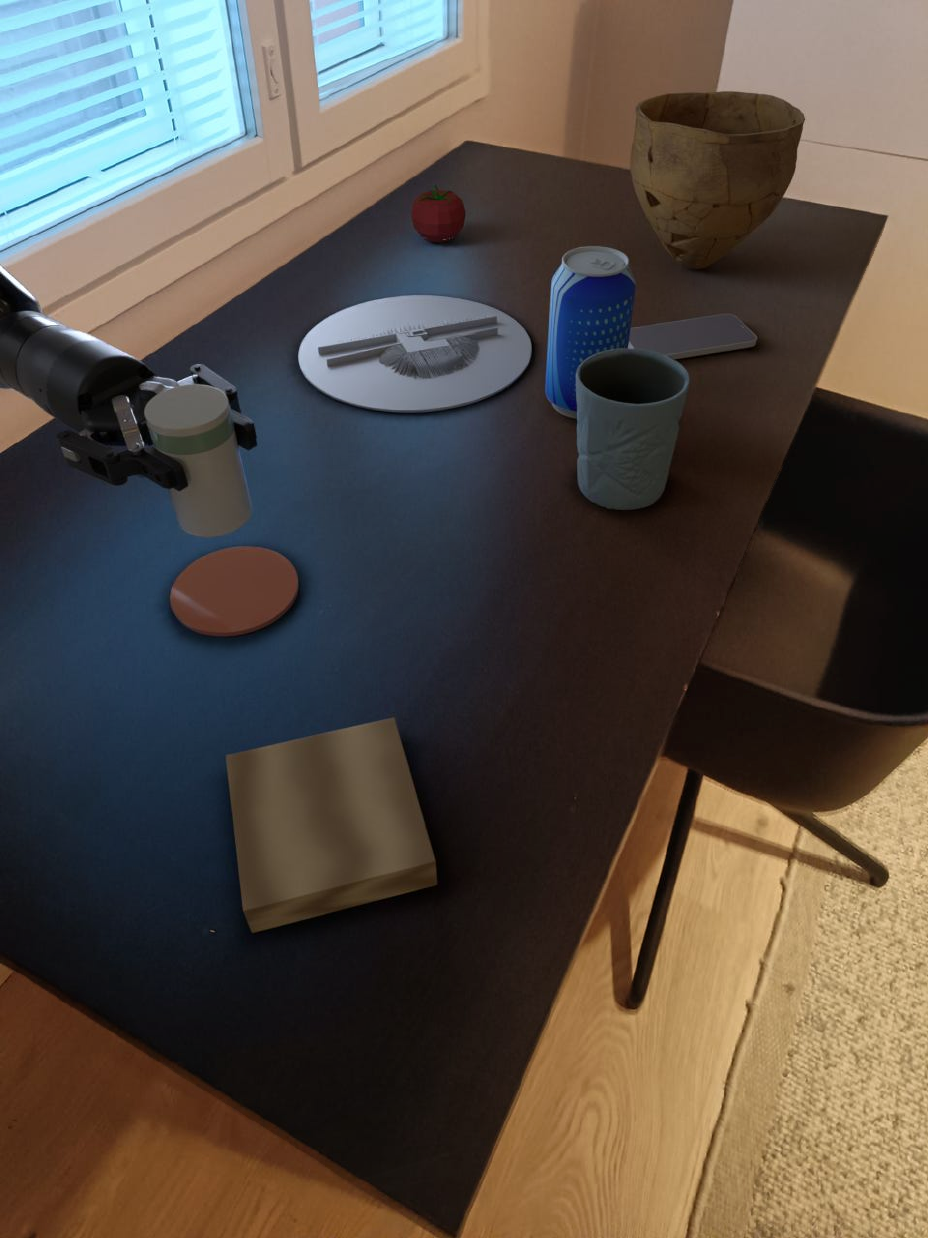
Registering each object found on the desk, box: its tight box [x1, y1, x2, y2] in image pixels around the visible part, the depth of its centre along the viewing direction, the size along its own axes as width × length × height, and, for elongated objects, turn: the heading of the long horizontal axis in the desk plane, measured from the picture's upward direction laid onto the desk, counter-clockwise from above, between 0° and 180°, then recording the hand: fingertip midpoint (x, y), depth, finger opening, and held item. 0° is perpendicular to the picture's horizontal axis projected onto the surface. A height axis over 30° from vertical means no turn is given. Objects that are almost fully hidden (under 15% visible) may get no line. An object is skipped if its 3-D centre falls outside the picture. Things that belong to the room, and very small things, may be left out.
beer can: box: [544, 245, 637, 420], centre depth 93 cm, size 8×8×16 cm
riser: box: [225, 717, 438, 934], centre depth 60 cm, size 12×12×3 cm
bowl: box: [629, 90, 806, 271], centre depth 116 cm, size 21×20×20 cm
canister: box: [144, 384, 254, 538], centre depth 69 cm, size 6×6×10 cm
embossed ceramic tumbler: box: [576, 348, 691, 511], centre depth 84 cm, size 10×10×12 cm
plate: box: [297, 294, 532, 414], centre depth 108 cm, size 28×28×1 cm
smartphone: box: [628, 313, 758, 360], centre depth 108 cm, size 7×1×15 cm
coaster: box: [169, 546, 300, 637], centre depth 78 cm, size 11×11×1 cm
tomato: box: [410, 184, 467, 243], centre depth 128 cm, size 8×8×8 cm
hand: (217, 457), depth 67 cm, fingers closed on canister, 6 cm apart
